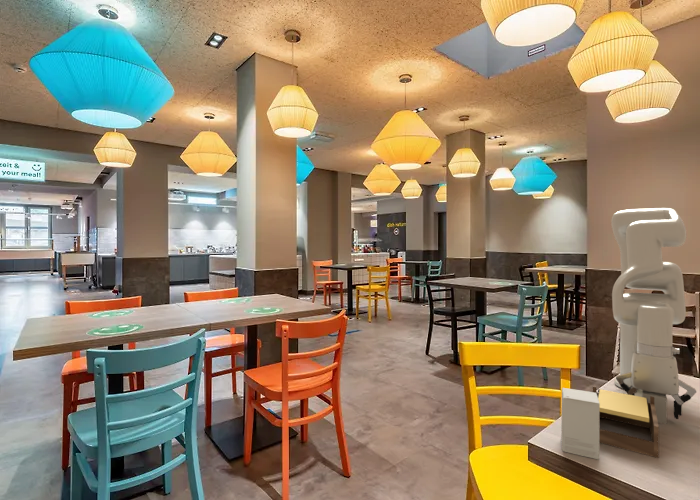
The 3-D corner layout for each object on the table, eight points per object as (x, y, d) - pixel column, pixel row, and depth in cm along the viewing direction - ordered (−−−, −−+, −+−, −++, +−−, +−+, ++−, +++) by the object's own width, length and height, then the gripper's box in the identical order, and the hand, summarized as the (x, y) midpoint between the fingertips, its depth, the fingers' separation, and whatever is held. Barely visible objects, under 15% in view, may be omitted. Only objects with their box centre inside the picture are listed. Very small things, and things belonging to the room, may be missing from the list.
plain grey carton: (641, 412, 106) (642, 387, 106) (664, 417, 103) (665, 392, 103) (642, 419, 102) (642, 393, 102) (666, 424, 99) (666, 397, 99)
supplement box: (600, 460, 82) (600, 403, 82) (561, 451, 86) (561, 397, 86) (597, 445, 89) (597, 392, 89) (561, 437, 92) (561, 386, 92)
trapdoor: (598, 392, 103) (598, 388, 103) (648, 401, 96) (648, 397, 96) (594, 410, 91) (594, 406, 91) (651, 422, 85) (651, 418, 85)
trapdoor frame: (593, 414, 104) (593, 384, 104) (653, 428, 97) (653, 395, 97) (588, 439, 91) (588, 405, 91) (658, 457, 83) (658, 420, 83)
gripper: (695, 352, 100) (694, 416, 100) (615, 342, 110) (615, 400, 111) (699, 359, 94) (698, 427, 94) (615, 348, 104) (614, 409, 105)
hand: (653, 412), depth 103 cm, fingers open, 8 cm apart
